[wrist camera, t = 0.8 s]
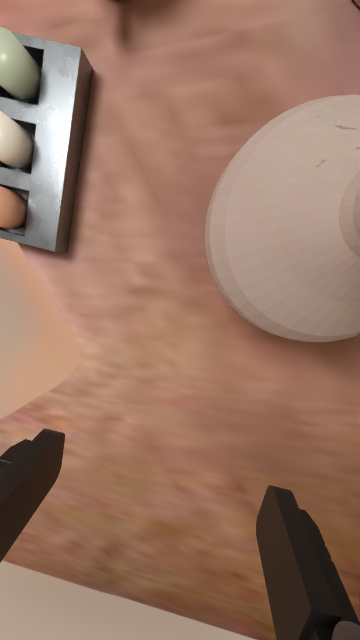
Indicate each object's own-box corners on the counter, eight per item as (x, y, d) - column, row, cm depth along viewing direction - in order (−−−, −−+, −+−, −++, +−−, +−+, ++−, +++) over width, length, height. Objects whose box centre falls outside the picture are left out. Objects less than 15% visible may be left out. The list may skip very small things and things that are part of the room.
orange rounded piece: (-4, 187, 31) (-29, 177, 28) (31, 195, 31) (10, 187, 28) (-6, 224, 32) (-31, 219, 29) (27, 233, 32) (6, 229, 29)
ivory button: (1, 123, 30) (-25, 104, 26) (38, 131, 30) (16, 114, 26) (-2, 164, 31) (-27, 151, 27) (33, 172, 31) (12, 161, 27)
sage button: (7, 52, 28) (-20, 22, 25) (45, 60, 28) (23, 32, 25) (3, 97, 29) (-23, 75, 26) (40, 106, 29) (19, 84, 26)
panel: (-14, 44, 30) (-38, 21, 27) (93, 69, 30) (80, 47, 27) (-26, 229, 35) (-47, 226, 32) (67, 252, 34) (54, 251, 31)
